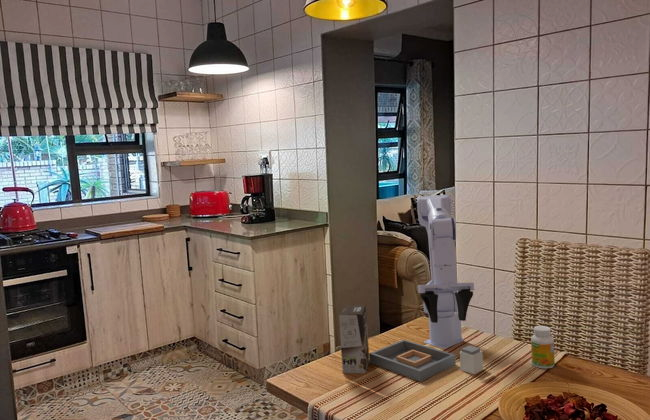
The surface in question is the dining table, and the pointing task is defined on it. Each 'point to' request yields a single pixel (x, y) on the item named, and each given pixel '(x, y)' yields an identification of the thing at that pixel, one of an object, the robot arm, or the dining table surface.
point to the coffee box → (354, 339)
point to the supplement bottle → (542, 348)
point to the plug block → (471, 359)
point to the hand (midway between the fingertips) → (448, 321)
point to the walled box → (388, 360)
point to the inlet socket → (413, 352)
